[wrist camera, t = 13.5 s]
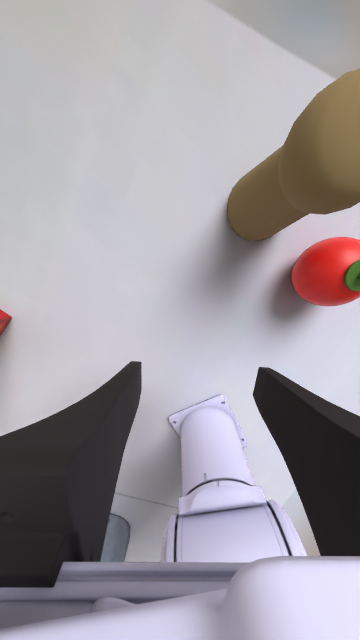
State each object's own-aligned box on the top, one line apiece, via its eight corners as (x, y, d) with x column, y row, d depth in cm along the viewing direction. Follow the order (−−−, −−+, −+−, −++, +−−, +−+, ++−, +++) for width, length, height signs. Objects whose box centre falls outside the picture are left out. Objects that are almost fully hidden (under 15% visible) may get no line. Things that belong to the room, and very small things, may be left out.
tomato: (342, 284, 20) (420, 294, 14) (288, 308, 21) (339, 329, 14) (329, 230, 19) (412, 212, 12) (272, 258, 19) (321, 255, 13)
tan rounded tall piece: (253, 154, 17) (385, -33, 6) (303, 195, 18) (490, 96, 7) (214, 218, 18) (267, 157, 8) (263, 253, 19) (369, 241, 9)
